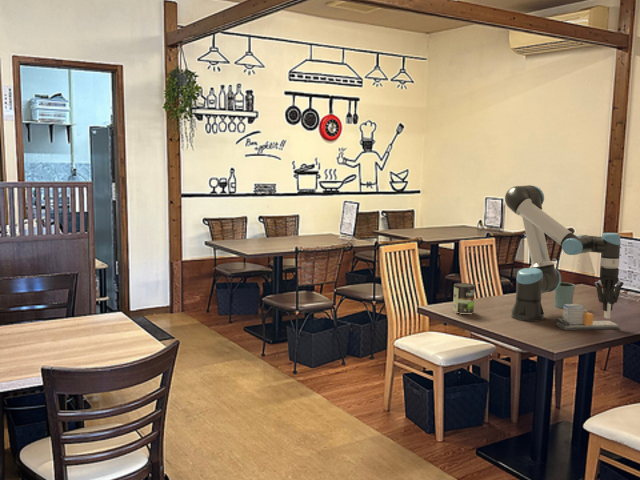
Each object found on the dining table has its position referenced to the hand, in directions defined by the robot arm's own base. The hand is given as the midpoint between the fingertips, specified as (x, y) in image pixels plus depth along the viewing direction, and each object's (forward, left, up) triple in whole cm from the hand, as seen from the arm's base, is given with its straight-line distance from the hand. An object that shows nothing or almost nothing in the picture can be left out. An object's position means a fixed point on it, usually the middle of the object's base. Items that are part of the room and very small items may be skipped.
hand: (607, 317), depth 283 cm
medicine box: (-16, +1, -3) cm, 16 cm away
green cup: (-1, +39, -5) cm, 39 cm away
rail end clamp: (-11, +1, -2) cm, 11 cm away
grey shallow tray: (-9, +1, -4) cm, 10 cm away
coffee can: (-57, +32, -5) cm, 65 cm away
